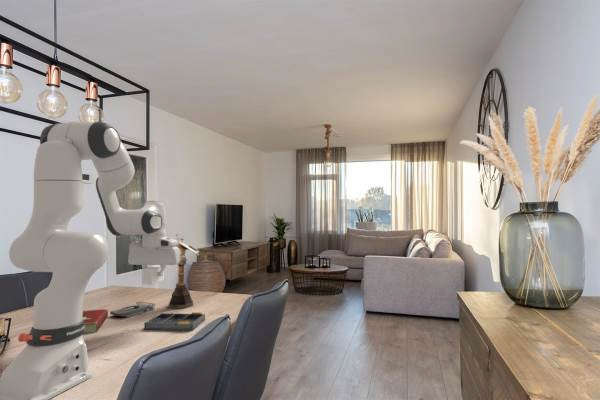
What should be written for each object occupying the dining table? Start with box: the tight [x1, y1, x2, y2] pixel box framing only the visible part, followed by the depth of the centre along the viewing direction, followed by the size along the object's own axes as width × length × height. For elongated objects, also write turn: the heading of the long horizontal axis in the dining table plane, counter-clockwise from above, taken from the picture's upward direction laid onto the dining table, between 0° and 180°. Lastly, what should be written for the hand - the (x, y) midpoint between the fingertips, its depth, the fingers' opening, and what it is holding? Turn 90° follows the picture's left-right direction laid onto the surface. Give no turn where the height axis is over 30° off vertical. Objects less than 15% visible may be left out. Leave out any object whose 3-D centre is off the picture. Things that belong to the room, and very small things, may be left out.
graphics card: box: [109, 300, 156, 318], centre depth 157 cm, size 17×4×12 cm
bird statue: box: [168, 233, 200, 310], centre depth 171 cm, size 17×13×35 cm
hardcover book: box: [83, 308, 109, 334], centre depth 139 cm, size 12×21×4 cm, turn 19°
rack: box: [143, 311, 206, 332], centre depth 139 cm, size 14×19×3 cm
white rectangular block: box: [141, 265, 165, 286], centre depth 140 cm, size 10×4×6 cm, turn 176°
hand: (153, 276), depth 141 cm, fingers closed on white rectangular block, 4 cm apart
